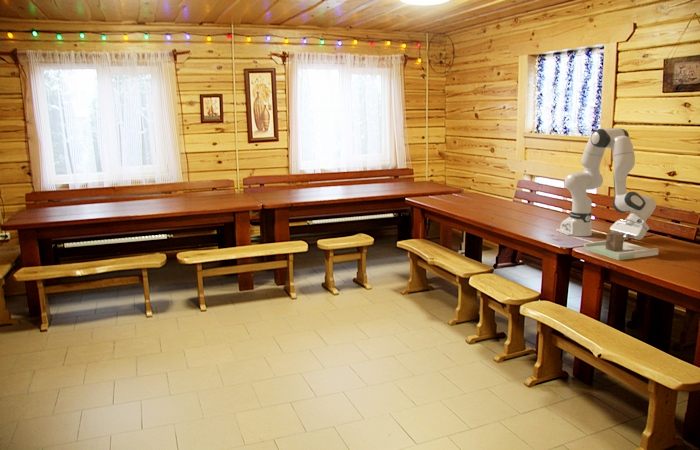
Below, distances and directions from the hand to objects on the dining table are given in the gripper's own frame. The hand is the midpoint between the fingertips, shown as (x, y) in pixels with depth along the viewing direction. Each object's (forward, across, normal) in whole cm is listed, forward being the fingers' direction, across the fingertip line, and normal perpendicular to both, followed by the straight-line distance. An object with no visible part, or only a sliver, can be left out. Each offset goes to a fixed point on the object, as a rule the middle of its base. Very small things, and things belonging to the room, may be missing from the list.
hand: (619, 241), depth 318 cm
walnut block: (+6, 0, 0) cm, 6 cm away
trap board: (+3, 0, +6) cm, 7 cm away
